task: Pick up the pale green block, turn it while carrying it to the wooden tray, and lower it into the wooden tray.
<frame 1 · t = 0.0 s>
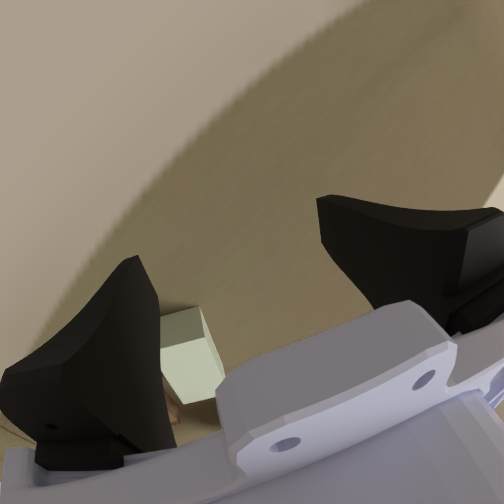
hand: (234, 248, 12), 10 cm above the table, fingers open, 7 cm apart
pale green block: (188, 342, 27), on the table
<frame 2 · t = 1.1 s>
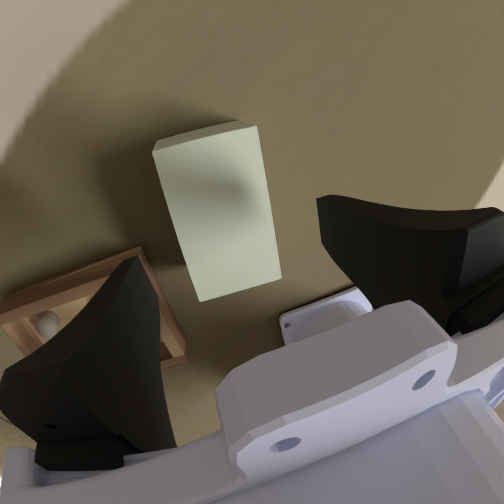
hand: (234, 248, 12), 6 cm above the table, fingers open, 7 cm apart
wooden tray: (91, 319, 19), on the table
pale green block: (213, 195, 17), on the table
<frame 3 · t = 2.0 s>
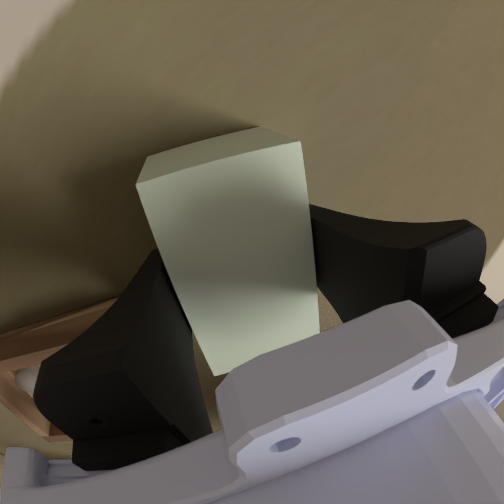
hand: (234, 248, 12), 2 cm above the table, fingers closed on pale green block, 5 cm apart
wooden tray: (79, 370, 15), on the table
pale green block: (226, 230, 13), on the table, touching gripper
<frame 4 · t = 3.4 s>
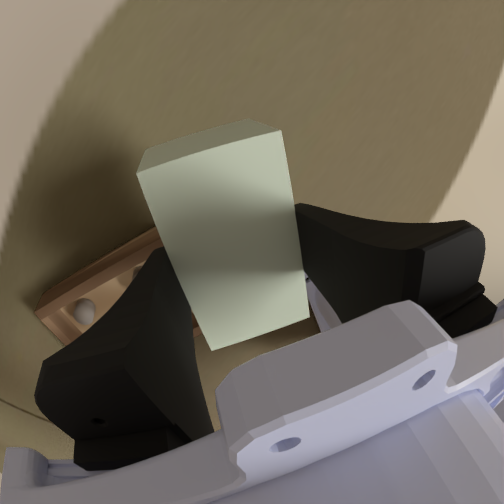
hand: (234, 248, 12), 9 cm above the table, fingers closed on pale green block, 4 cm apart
wooden tray: (125, 301, 22), on the table
pale green block: (220, 215, 14), point 6 cm above the table, touching gripper
when the fingers open (9 cm above the table, at t = 3.9 s): pale green block drops 3 cm, resting on wooden tray.
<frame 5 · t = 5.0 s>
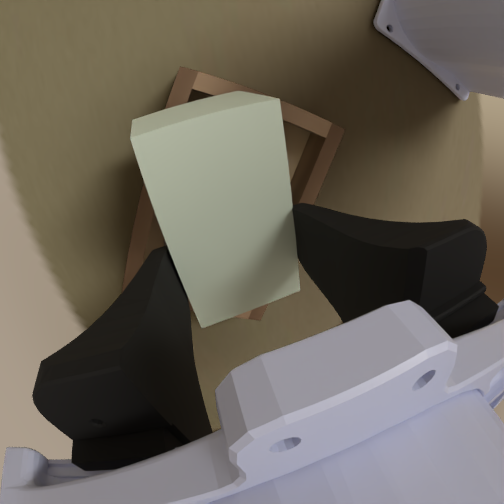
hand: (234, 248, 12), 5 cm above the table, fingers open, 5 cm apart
wooden tray: (218, 198, 16), on the table
pale green block: (206, 188, 13), point 2 cm above the table, tilted 8°, touching gripper, wooden tray
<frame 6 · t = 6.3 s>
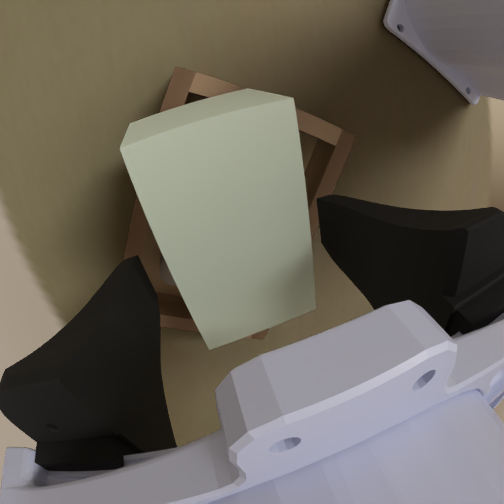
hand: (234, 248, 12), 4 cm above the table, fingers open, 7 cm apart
wooden tray: (218, 210, 15), on the table
pale green block: (214, 196, 12), point 2 cm above the table, tilted 6°, touching wooden tray
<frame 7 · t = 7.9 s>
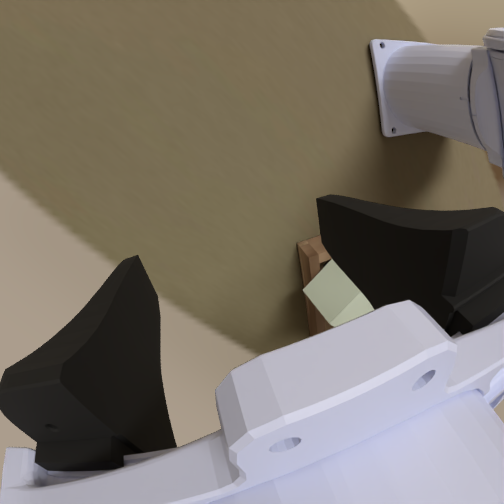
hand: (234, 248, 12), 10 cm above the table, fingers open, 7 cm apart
wooden tray: (344, 282, 28), on the table
pale green block: (346, 289, 25), point 2 cm above the table, tilted 6°, touching wooden tray
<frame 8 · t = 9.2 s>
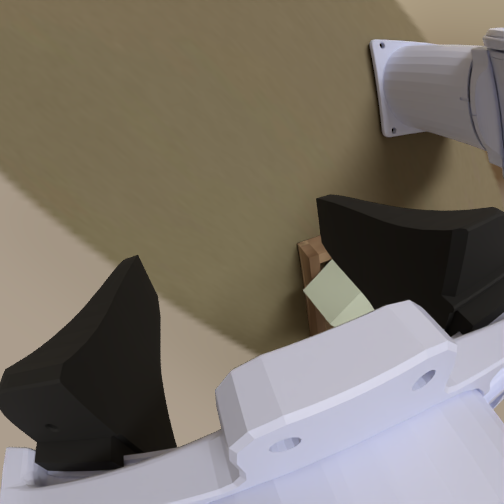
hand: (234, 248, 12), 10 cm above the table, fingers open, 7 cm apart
wooden tray: (344, 282, 28), on the table
pale green block: (346, 289, 25), point 2 cm above the table, tilted 6°, touching wooden tray
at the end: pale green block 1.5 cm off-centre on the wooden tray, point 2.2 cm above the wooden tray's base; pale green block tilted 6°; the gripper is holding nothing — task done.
